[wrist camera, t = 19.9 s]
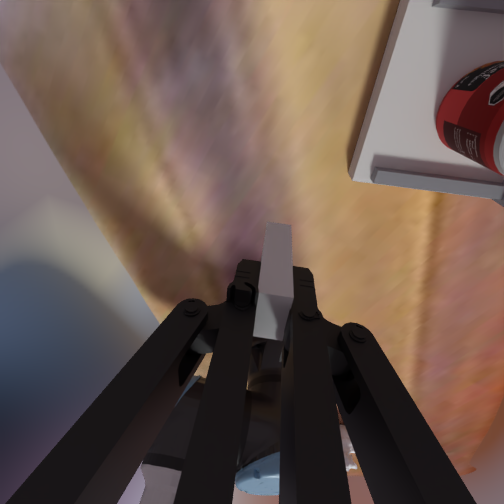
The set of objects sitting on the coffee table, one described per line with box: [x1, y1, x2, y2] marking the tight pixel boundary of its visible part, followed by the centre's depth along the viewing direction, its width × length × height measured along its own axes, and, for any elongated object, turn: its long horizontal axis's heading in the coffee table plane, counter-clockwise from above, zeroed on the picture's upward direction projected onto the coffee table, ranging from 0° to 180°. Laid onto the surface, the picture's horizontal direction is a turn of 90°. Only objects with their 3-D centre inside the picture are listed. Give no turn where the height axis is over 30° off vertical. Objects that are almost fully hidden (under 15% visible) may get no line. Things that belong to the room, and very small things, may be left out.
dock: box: [348, 0, 504, 207], centre depth 26 cm, size 18×18×9 cm
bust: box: [339, 424, 357, 471], centre depth 70 cm, size 12×8×11 cm
